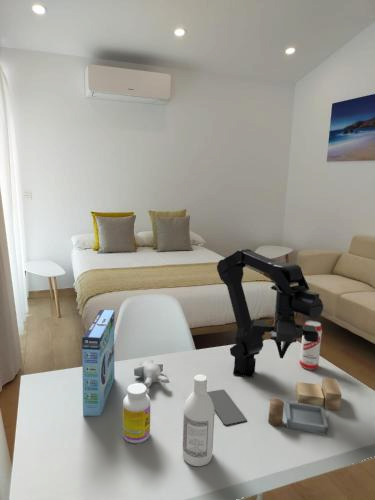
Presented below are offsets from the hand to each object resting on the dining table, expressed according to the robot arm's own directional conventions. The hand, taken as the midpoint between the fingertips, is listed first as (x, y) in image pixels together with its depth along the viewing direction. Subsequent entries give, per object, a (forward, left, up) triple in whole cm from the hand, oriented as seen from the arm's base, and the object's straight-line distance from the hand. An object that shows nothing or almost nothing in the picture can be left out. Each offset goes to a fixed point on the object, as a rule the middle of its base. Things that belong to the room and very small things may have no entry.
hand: (281, 357), depth 108 cm
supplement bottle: (-35, -28, -12) cm, 46 cm away
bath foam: (-19, -31, -12) cm, 38 cm away
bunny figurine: (-39, -3, -12) cm, 41 cm away
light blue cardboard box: (-51, -15, -12) cm, 54 cm away
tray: (+7, -11, -12) cm, 17 cm away
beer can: (+11, +20, -12) cm, 26 cm away
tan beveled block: (+9, +1, -12) cm, 15 cm away
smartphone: (-15, -11, -13) cm, 22 cm away
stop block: (+15, 0, -12) cm, 19 cm away
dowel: (-1, -14, -12) cm, 18 cm away
